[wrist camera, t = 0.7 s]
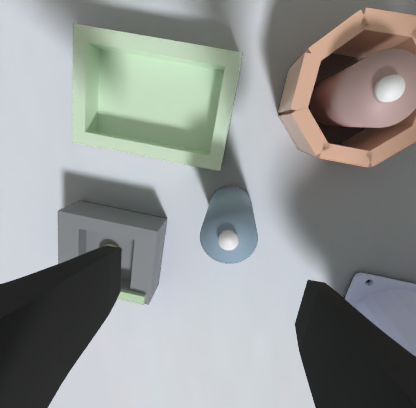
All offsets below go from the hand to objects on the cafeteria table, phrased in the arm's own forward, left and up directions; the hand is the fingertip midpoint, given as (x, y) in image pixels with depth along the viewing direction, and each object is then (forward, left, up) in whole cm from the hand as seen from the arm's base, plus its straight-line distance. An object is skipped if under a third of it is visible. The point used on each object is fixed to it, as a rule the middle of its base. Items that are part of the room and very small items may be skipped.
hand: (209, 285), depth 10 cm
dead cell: (-6, -8, -9) cm, 14 cm away
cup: (-6, -8, -9) cm, 14 cm away
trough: (+5, -6, -9) cm, 13 cm away
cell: (-1, 0, -9) cm, 9 cm away
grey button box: (+7, +5, -9) cm, 13 cm away
